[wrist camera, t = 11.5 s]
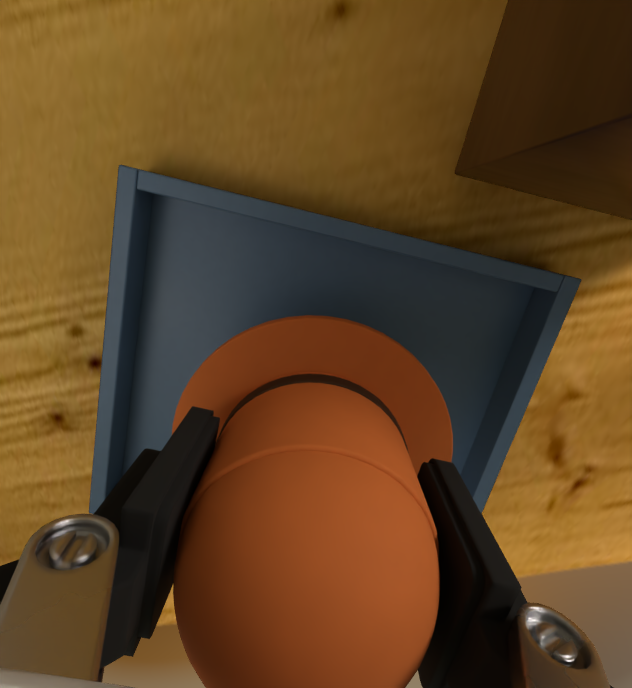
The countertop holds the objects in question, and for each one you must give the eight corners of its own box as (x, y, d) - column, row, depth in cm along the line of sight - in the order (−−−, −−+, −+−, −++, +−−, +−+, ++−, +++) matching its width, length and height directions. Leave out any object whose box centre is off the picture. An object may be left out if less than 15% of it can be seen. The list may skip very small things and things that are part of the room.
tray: (112, 482, 18) (88, 513, 16) (144, 171, 14) (118, 164, 12) (438, 548, 19) (451, 585, 17) (549, 271, 15) (582, 279, 13)
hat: (159, 530, 14) (2, 833, 7) (197, 283, 11) (11, 378, 4) (403, 578, 14) (479, 907, 7) (489, 352, 12) (717, 531, 5)
